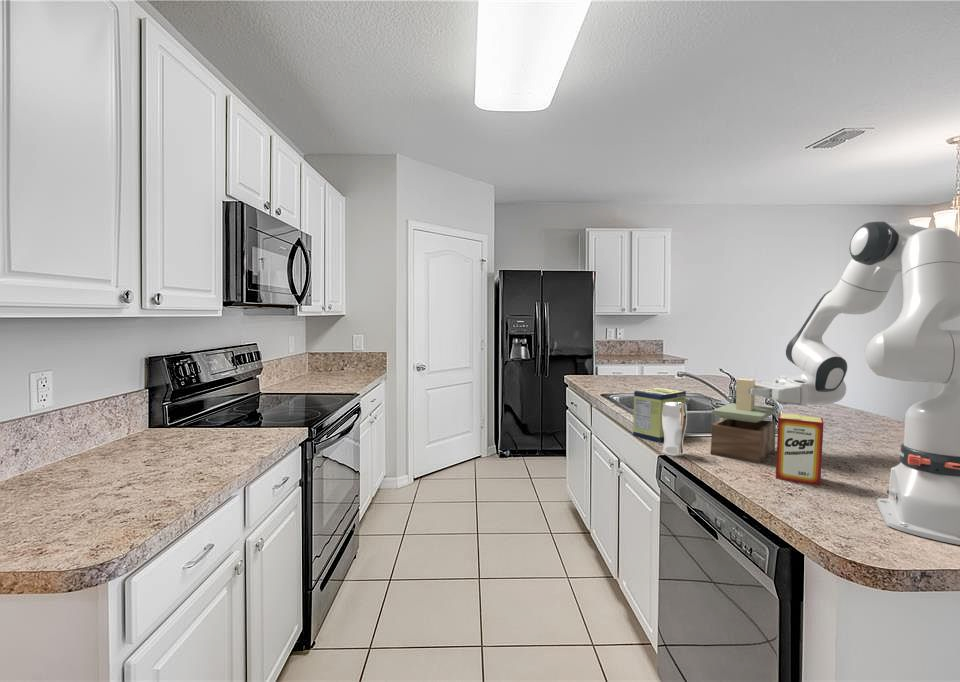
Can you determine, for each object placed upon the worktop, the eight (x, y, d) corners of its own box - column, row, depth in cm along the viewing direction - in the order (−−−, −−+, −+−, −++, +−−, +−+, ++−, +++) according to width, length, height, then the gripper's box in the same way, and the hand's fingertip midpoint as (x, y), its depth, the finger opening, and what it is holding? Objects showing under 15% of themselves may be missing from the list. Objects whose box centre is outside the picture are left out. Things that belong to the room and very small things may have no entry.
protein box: (685, 435, 172) (686, 390, 171) (659, 442, 163) (661, 395, 162) (657, 429, 181) (659, 386, 180) (632, 436, 171) (633, 390, 170)
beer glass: (670, 457, 146) (672, 406, 145) (655, 450, 153) (657, 402, 152) (690, 455, 148) (692, 405, 147) (675, 449, 155) (677, 401, 154)
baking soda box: (819, 478, 129) (822, 416, 128) (820, 485, 124) (823, 421, 123) (776, 471, 134) (779, 412, 133) (775, 478, 129) (778, 416, 128)
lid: (761, 424, 140) (762, 384, 139) (712, 417, 149) (713, 380, 148) (776, 415, 153) (777, 378, 153) (730, 409, 162) (731, 375, 161)
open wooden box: (759, 463, 141) (760, 431, 140) (710, 454, 150) (711, 424, 149) (774, 450, 154) (776, 421, 154) (729, 442, 163) (730, 415, 162)
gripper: (765, 375, 162) (724, 375, 161) (811, 384, 141) (764, 384, 140) (765, 395, 162) (723, 395, 161) (810, 406, 142) (763, 406, 141)
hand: (742, 390), depth 151 cm, fingers closed on lid, 6 cm apart
